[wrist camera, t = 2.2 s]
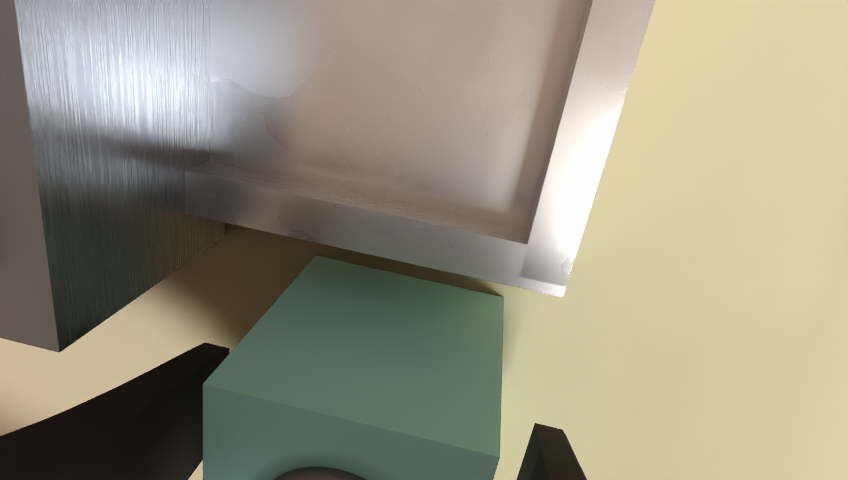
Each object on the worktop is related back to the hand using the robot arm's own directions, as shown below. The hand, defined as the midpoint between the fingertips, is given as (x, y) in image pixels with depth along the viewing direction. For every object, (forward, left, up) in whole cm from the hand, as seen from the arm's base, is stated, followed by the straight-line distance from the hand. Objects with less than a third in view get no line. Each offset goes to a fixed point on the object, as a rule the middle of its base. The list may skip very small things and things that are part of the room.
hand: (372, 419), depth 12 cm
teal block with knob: (0, 0, -3) cm, 3 cm away
